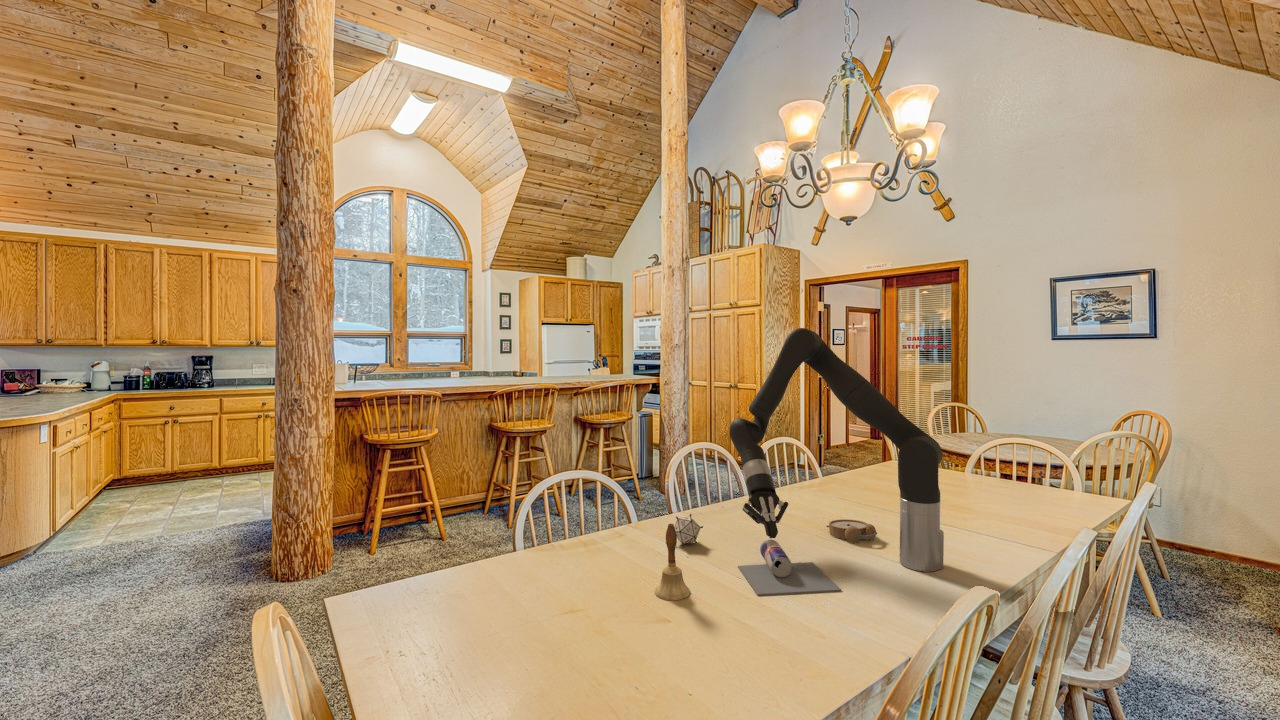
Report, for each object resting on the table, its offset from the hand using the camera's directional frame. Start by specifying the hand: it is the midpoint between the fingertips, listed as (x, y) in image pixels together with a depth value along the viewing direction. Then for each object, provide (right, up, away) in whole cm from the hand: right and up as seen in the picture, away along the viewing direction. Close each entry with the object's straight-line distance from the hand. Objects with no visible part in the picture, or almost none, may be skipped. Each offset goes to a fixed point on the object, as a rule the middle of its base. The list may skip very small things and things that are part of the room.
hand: (773, 536), depth 142 cm
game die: (-22, -7, +14) cm, 27 cm away
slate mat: (+1, -7, -10) cm, 12 cm away
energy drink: (-1, -4, +2) cm, 4 cm away
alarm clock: (+28, -7, +19) cm, 35 cm away
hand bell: (-27, -8, -16) cm, 33 cm away
